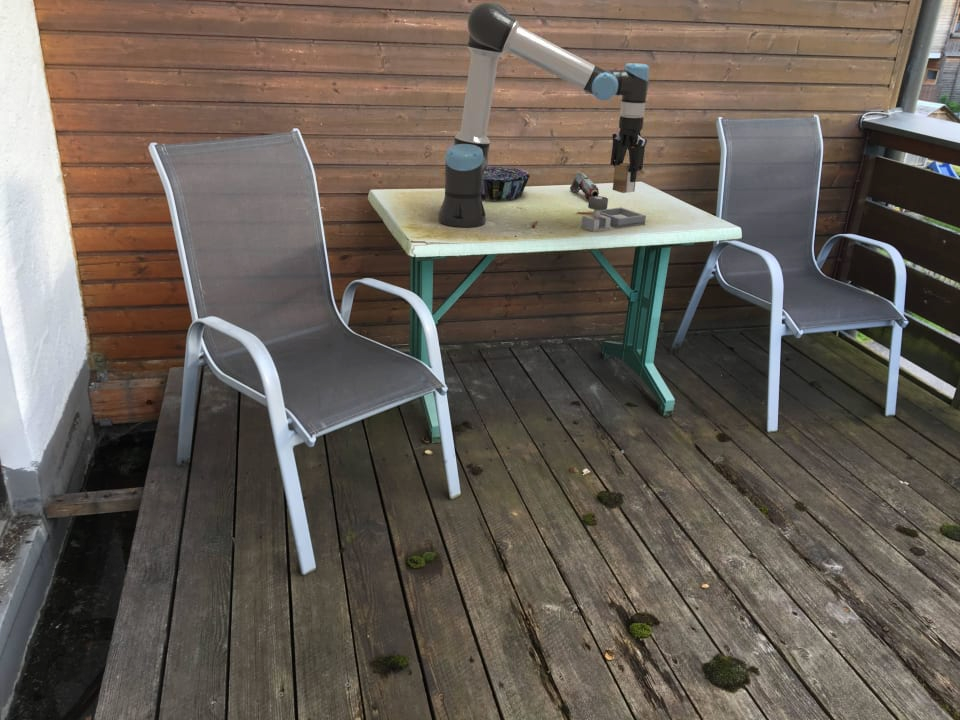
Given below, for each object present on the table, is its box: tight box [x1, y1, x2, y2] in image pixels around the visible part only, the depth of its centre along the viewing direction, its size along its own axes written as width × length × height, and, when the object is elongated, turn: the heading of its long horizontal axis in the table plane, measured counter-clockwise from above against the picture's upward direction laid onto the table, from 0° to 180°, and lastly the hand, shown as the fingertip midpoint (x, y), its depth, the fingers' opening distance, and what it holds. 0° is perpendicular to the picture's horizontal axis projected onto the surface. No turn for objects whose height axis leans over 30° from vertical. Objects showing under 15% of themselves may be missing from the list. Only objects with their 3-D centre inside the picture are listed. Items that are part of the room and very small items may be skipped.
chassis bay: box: [600, 206, 647, 229], centre depth 256 cm, size 12×12×3 cm
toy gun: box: [569, 172, 600, 202], centre depth 288 cm, size 4×20×10 cm, turn 16°
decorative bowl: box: [481, 165, 531, 202], centre depth 284 cm, size 26×28×10 cm
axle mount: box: [580, 214, 611, 233], centre depth 247 cm, size 7×6×4 cm
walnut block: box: [612, 162, 637, 194], centre depth 251 cm, size 5×5×9 cm
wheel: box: [587, 195, 609, 218], centre depth 245 cm, size 6×6×6 cm
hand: (623, 189), depth 253 cm, fingers closed on walnut block, 5 cm apart
